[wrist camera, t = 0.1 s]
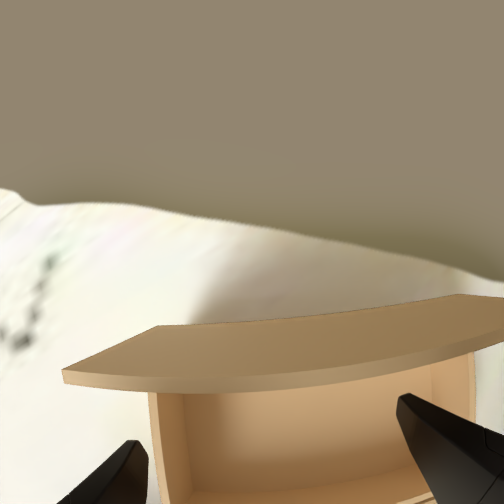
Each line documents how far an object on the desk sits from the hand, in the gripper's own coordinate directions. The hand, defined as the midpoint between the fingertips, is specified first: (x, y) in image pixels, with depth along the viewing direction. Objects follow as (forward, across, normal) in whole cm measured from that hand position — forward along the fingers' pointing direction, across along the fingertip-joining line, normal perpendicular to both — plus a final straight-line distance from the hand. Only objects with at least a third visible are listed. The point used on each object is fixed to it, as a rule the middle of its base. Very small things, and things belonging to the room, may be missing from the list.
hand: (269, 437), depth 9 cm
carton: (+11, -3, +11) cm, 16 cm away
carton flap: (+4, -4, 0) cm, 6 cm away
